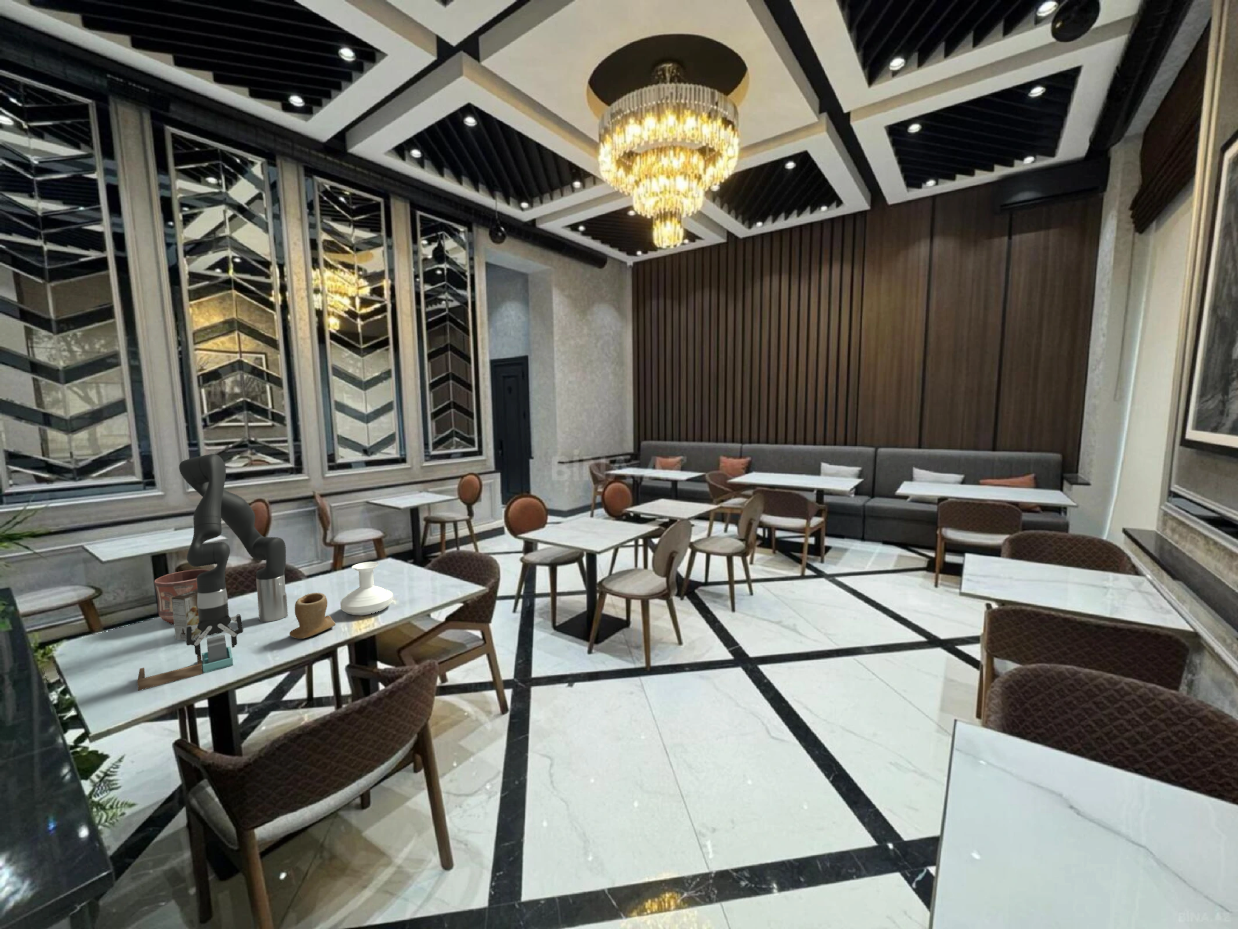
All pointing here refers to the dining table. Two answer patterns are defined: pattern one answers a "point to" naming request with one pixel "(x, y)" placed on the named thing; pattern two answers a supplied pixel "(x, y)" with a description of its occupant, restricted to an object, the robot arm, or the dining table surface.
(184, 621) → the coffee box
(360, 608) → the white vase
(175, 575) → the pottery
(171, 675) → the walnut bay
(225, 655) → the chamfered grey block
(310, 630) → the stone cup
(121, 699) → the dining table surface
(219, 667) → the teal tray
